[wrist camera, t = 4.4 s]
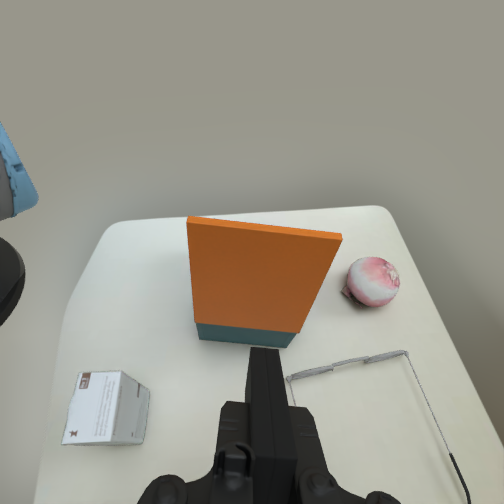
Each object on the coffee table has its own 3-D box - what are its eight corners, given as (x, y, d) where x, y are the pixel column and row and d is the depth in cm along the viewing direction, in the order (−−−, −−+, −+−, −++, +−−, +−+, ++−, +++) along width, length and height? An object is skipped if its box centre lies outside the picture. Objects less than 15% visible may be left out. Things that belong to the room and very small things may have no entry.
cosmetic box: (144, 443, 36) (113, 445, 26) (105, 446, 35) (57, 449, 25) (150, 387, 39) (125, 369, 29) (114, 389, 39) (76, 371, 28)
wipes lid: (188, 215, 24) (186, 221, 24) (341, 232, 25) (343, 239, 24) (195, 316, 36) (194, 322, 36) (299, 327, 37) (299, 333, 36)
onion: (389, 315, 47) (414, 297, 41) (341, 311, 47) (359, 292, 41) (380, 271, 52) (402, 248, 46) (336, 267, 51) (352, 244, 45)
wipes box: (214, 248, 51) (213, 219, 45) (287, 256, 52) (297, 229, 45) (199, 339, 43) (195, 321, 36) (286, 348, 43) (298, 331, 37)
